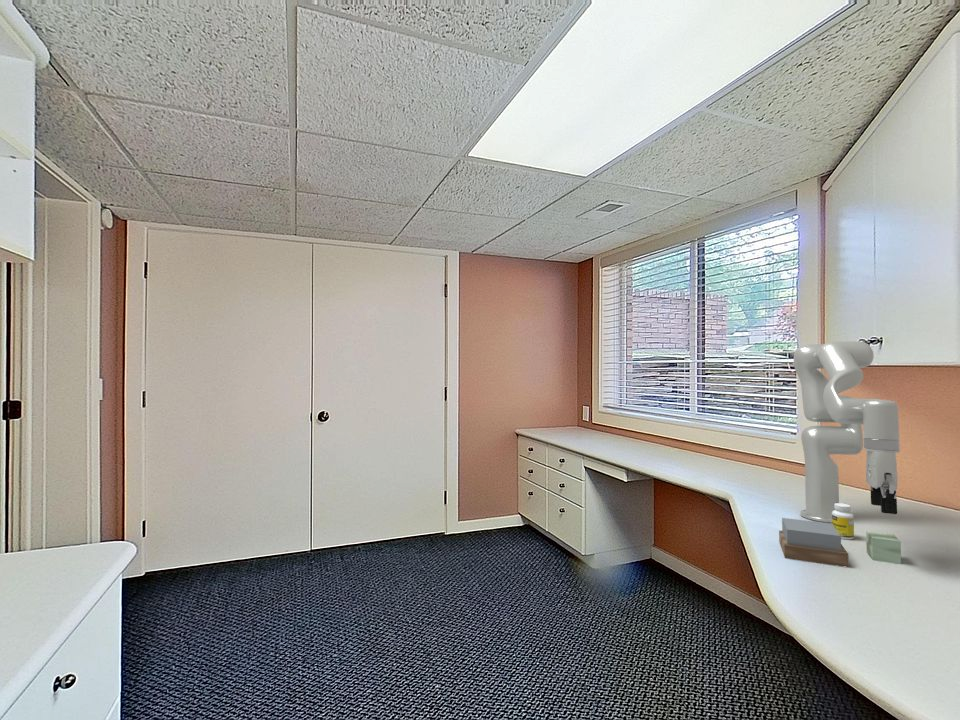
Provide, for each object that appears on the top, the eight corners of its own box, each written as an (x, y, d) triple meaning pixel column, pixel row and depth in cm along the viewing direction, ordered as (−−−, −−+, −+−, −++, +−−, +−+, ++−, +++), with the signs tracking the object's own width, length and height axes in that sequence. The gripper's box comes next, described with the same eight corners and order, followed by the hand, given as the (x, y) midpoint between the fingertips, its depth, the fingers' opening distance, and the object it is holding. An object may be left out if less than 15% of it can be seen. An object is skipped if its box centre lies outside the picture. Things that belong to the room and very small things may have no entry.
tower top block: (782, 531, 144) (782, 517, 144) (831, 537, 139) (831, 523, 139) (787, 544, 133) (787, 529, 133) (841, 551, 128) (840, 535, 128)
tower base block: (779, 543, 145) (779, 530, 145) (836, 551, 139) (836, 537, 139) (784, 560, 132) (784, 545, 133) (848, 569, 126) (848, 553, 126)
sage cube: (866, 552, 137) (866, 531, 137) (893, 556, 134) (893, 534, 134) (872, 560, 131) (872, 537, 131) (901, 564, 129) (900, 541, 129)
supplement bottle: (827, 535, 151) (827, 503, 151) (839, 533, 153) (839, 501, 153) (846, 540, 146) (845, 507, 146) (858, 538, 148) (857, 506, 148)
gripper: (856, 441, 143) (858, 501, 142) (873, 448, 127) (875, 515, 126) (889, 443, 139) (891, 504, 138) (910, 450, 124) (912, 518, 123)
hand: (883, 509), depth 132 cm, fingers open, 9 cm apart
